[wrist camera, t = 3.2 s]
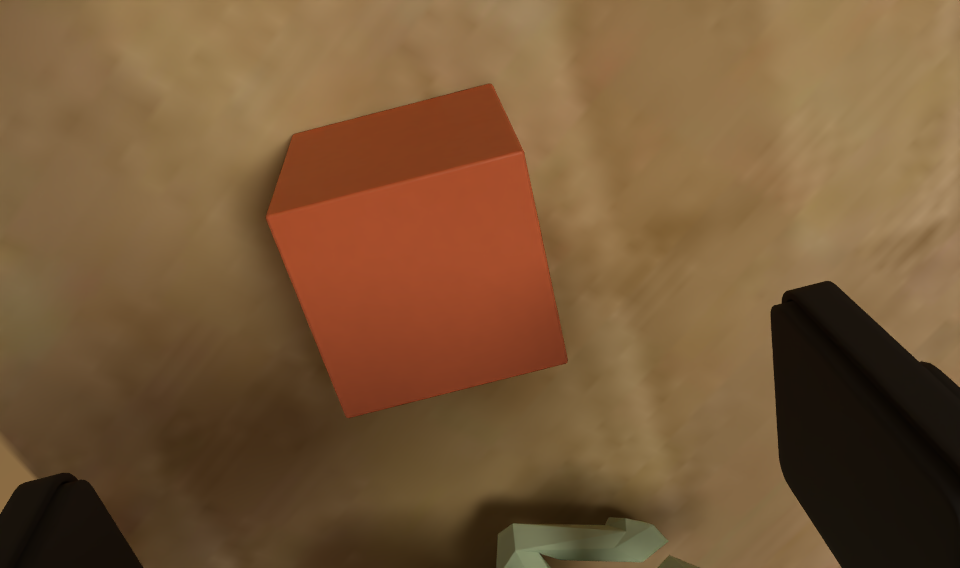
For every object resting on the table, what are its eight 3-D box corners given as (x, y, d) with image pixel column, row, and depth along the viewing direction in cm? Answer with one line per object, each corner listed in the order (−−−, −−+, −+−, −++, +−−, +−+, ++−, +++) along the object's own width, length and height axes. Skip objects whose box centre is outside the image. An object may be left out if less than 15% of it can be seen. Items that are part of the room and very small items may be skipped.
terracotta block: (291, 133, 17) (263, 217, 13) (491, 81, 17) (523, 150, 13) (354, 305, 19) (345, 420, 15) (531, 260, 19) (568, 364, 15)
